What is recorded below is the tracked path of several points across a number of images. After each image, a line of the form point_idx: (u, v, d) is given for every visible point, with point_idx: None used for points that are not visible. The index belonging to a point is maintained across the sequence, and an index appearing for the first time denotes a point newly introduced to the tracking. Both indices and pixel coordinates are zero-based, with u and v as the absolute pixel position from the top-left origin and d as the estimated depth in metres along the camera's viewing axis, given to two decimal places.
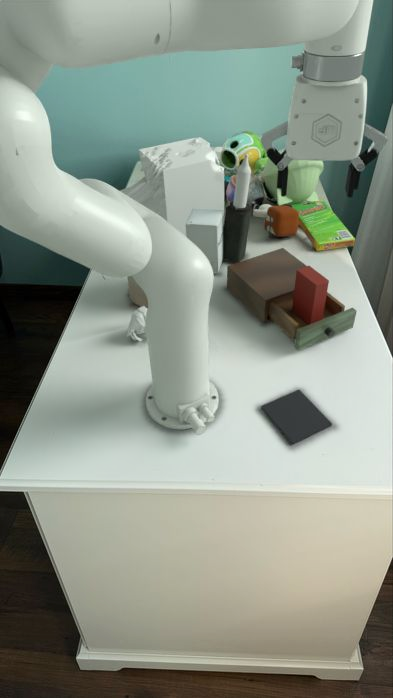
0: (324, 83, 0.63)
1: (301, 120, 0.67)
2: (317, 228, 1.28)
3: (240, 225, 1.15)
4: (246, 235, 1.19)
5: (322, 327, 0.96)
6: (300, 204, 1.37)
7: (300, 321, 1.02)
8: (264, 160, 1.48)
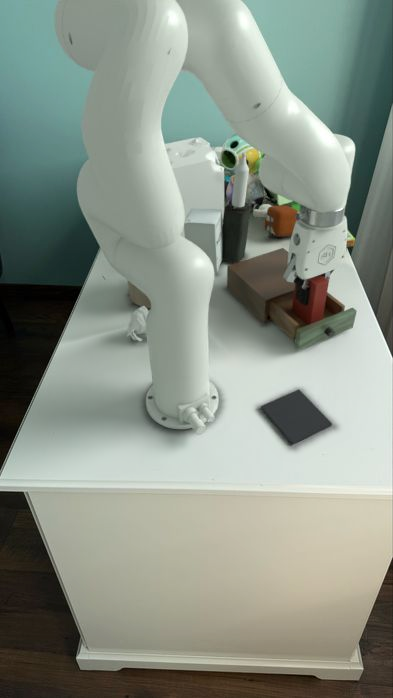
0: (329, 228, 0.85)
1: (311, 253, 0.88)
2: None
3: (239, 224, 1.15)
4: (245, 235, 1.19)
5: (322, 327, 0.96)
6: None
7: (300, 321, 1.02)
8: None
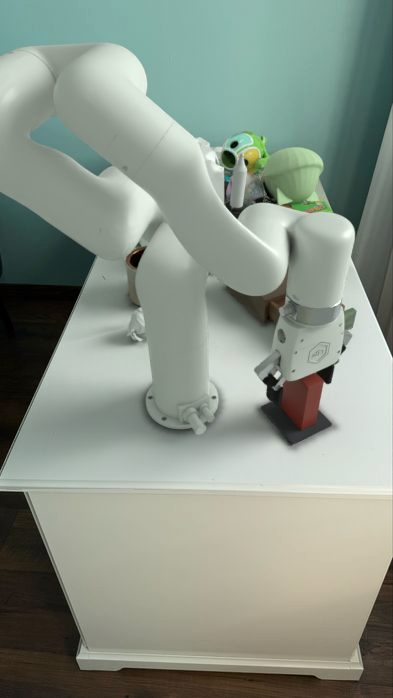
0: (321, 326, 0.68)
1: (299, 354, 0.71)
2: None
3: None
4: None
5: None
6: (300, 204, 1.37)
7: None
8: (264, 160, 1.48)
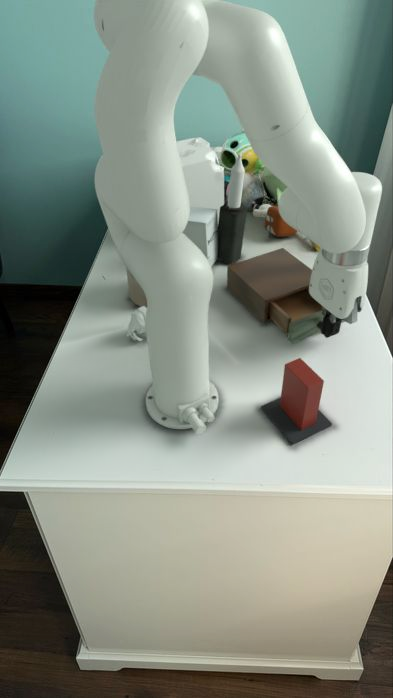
0: (323, 258, 0.86)
1: (315, 273, 0.91)
2: None
3: (232, 225, 1.15)
4: (240, 236, 1.19)
5: (314, 321, 0.98)
6: None
7: (293, 315, 1.03)
8: None
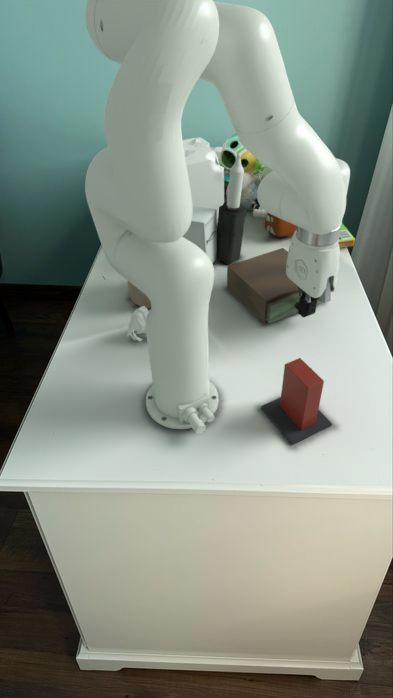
0: (297, 239, 0.90)
1: (291, 255, 0.95)
2: None
3: (231, 225, 1.15)
4: (239, 236, 1.18)
5: (292, 301, 1.03)
6: None
7: None
8: None
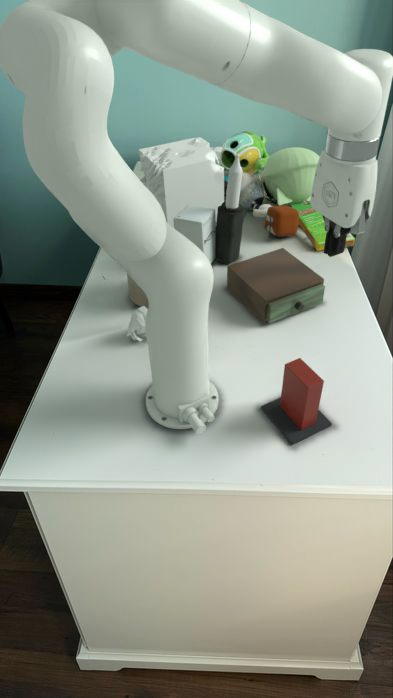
0: (327, 155, 0.76)
1: (318, 179, 0.81)
2: (317, 228, 1.28)
3: (229, 226, 1.15)
4: (238, 237, 1.18)
5: (292, 301, 1.03)
6: (300, 204, 1.37)
7: None
8: (264, 160, 1.48)
